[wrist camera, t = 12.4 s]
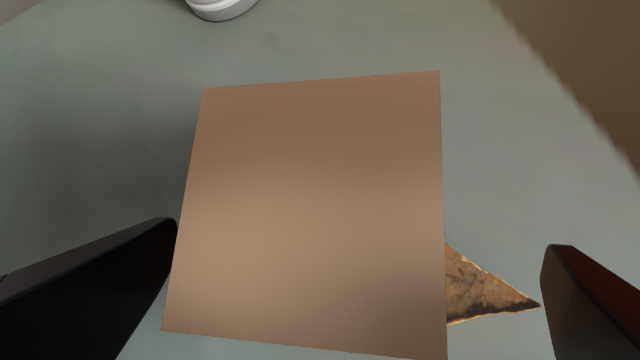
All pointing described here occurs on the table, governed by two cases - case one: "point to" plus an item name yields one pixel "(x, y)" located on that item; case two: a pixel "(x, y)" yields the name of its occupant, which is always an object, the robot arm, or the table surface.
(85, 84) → the table surface
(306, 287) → the walnut block
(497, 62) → the table surface
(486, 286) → the shard
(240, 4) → the travel mug
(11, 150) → the table surface
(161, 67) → the table surface
